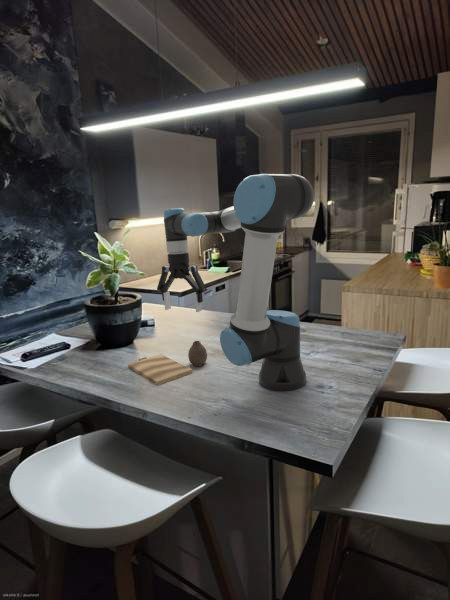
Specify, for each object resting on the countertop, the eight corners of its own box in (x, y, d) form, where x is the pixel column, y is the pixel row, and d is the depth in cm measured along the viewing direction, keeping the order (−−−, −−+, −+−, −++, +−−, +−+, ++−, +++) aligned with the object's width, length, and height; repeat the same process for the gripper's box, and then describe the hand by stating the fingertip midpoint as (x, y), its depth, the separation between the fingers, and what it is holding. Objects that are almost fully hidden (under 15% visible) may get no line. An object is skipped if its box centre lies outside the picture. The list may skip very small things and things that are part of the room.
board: (192, 372, 143) (192, 369, 142) (157, 385, 134) (157, 381, 134) (158, 355, 161) (157, 352, 161) (125, 365, 153) (125, 362, 153)
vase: (185, 366, 149) (183, 343, 147) (195, 359, 155) (193, 338, 153) (201, 369, 145) (199, 345, 143) (211, 362, 151) (209, 339, 149)
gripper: (213, 250, 142) (217, 309, 147) (156, 251, 154) (161, 306, 159) (202, 253, 136) (207, 314, 141) (143, 254, 148) (149, 310, 152)
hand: (183, 310), depth 150 cm, fingers open, 13 cm apart
